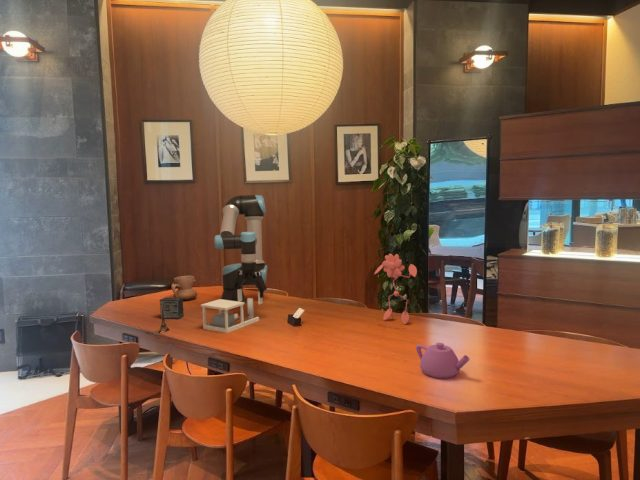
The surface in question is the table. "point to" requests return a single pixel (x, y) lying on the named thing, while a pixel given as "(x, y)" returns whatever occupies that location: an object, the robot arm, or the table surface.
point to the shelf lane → (225, 306)
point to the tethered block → (232, 316)
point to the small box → (172, 308)
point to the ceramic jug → (184, 288)
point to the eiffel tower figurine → (162, 325)
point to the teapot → (440, 361)
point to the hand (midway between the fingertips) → (250, 302)
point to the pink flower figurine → (395, 269)
